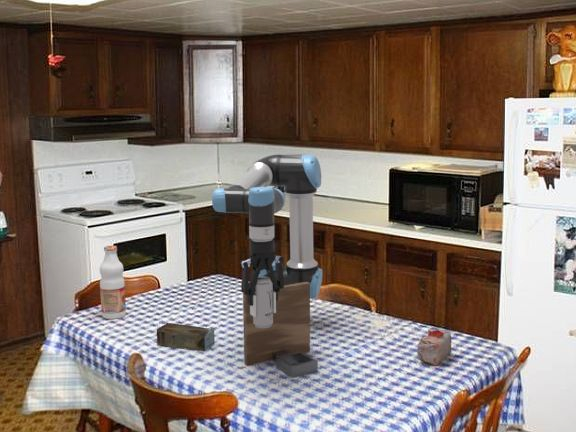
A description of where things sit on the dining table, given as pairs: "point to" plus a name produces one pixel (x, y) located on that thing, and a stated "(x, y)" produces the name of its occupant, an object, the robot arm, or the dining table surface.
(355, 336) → the dining table surface
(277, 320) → the wall board
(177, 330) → the beverage carton
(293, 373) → the can cradle
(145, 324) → the dining table surface
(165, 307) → the dining table surface
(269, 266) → the robot arm
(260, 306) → the energy drink can
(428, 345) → the food item
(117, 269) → the fruit juice
